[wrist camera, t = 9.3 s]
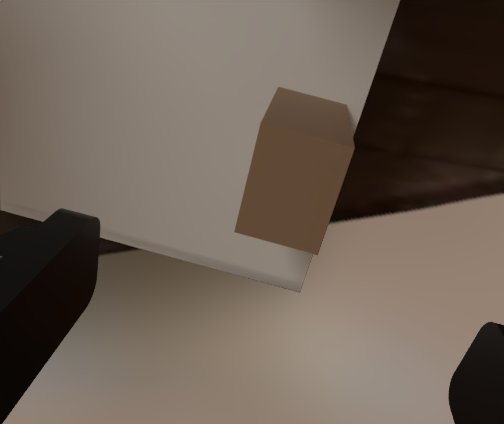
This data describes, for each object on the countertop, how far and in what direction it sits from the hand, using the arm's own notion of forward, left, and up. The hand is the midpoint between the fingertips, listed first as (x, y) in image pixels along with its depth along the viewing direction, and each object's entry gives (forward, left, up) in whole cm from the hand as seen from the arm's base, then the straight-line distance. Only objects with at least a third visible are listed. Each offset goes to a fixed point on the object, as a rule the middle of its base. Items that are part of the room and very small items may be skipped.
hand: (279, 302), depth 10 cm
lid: (0, -6, -14) cm, 15 cm away
